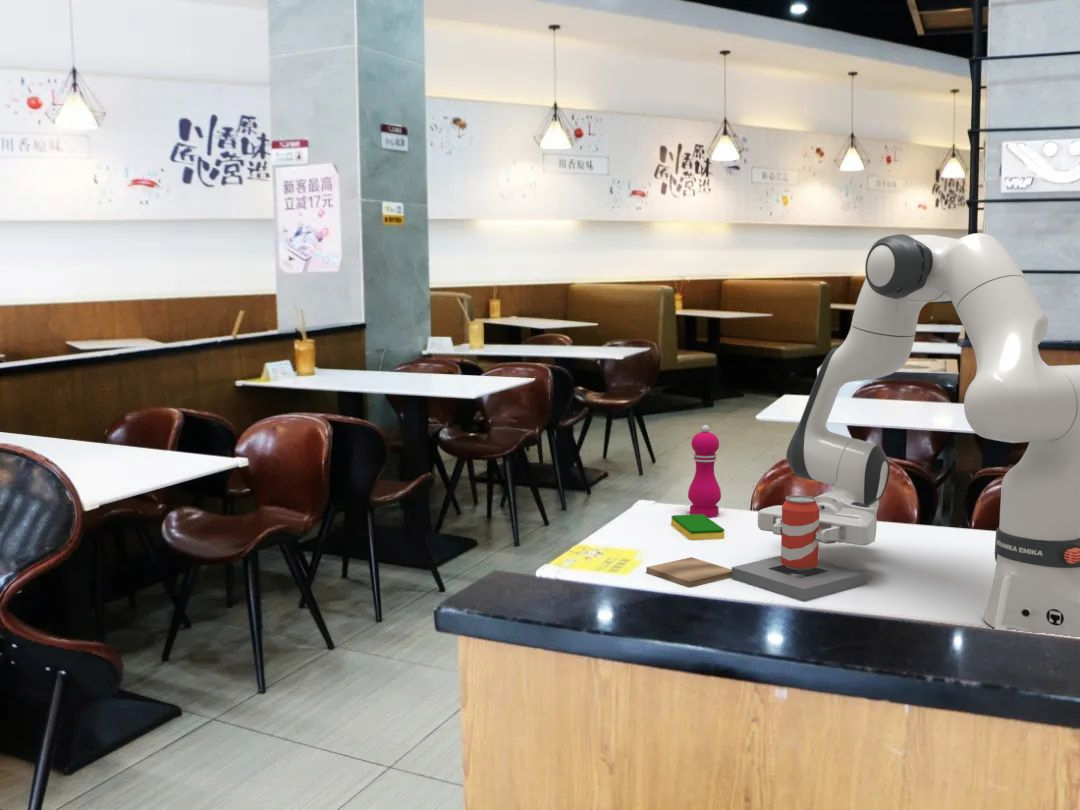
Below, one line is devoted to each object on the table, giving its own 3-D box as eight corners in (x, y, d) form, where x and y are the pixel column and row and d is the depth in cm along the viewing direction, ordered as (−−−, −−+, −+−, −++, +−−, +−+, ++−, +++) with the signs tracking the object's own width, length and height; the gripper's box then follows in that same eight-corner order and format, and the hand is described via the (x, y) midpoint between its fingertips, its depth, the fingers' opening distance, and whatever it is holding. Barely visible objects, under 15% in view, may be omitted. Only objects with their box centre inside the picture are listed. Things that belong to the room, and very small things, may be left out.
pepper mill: (720, 518, 224) (721, 427, 222) (686, 517, 226) (687, 427, 223) (721, 511, 231) (722, 423, 229) (688, 510, 233) (689, 422, 230)
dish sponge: (690, 542, 206) (690, 530, 206) (670, 526, 220) (670, 515, 220) (724, 541, 207) (724, 529, 207) (702, 524, 221) (703, 513, 221)
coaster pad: (735, 576, 181) (735, 570, 181) (689, 587, 175) (689, 581, 175) (691, 562, 190) (691, 557, 190) (646, 572, 184) (646, 567, 184)
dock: (866, 583, 176) (866, 572, 176) (803, 601, 167) (804, 589, 167) (792, 563, 189) (793, 552, 189) (731, 578, 180) (731, 567, 180)
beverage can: (773, 567, 178) (775, 498, 176) (793, 559, 182) (795, 493, 181) (804, 574, 173) (806, 504, 172) (824, 566, 178) (826, 498, 176)
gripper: (775, 494, 193) (742, 507, 182) (884, 508, 181) (856, 523, 170) (775, 527, 194) (742, 542, 183) (883, 543, 182) (855, 560, 171)
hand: (797, 533), depth 176 cm, fingers closed on beverage can, 6 cm apart
